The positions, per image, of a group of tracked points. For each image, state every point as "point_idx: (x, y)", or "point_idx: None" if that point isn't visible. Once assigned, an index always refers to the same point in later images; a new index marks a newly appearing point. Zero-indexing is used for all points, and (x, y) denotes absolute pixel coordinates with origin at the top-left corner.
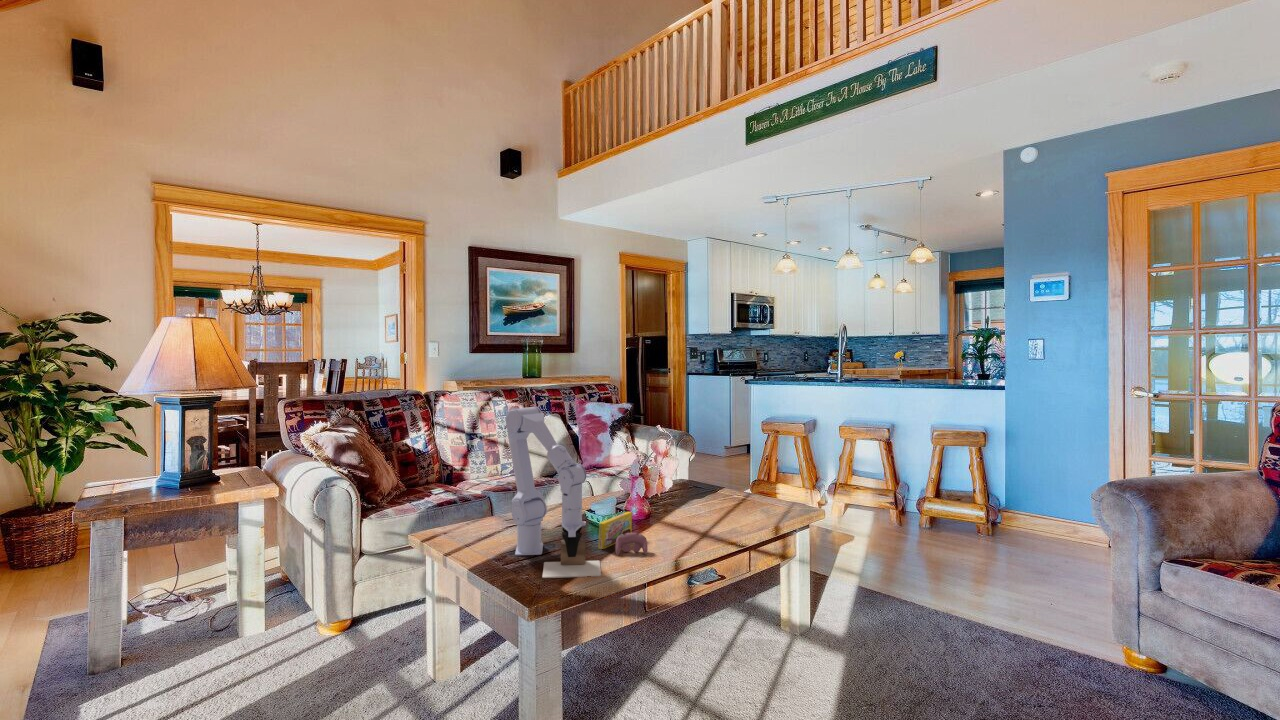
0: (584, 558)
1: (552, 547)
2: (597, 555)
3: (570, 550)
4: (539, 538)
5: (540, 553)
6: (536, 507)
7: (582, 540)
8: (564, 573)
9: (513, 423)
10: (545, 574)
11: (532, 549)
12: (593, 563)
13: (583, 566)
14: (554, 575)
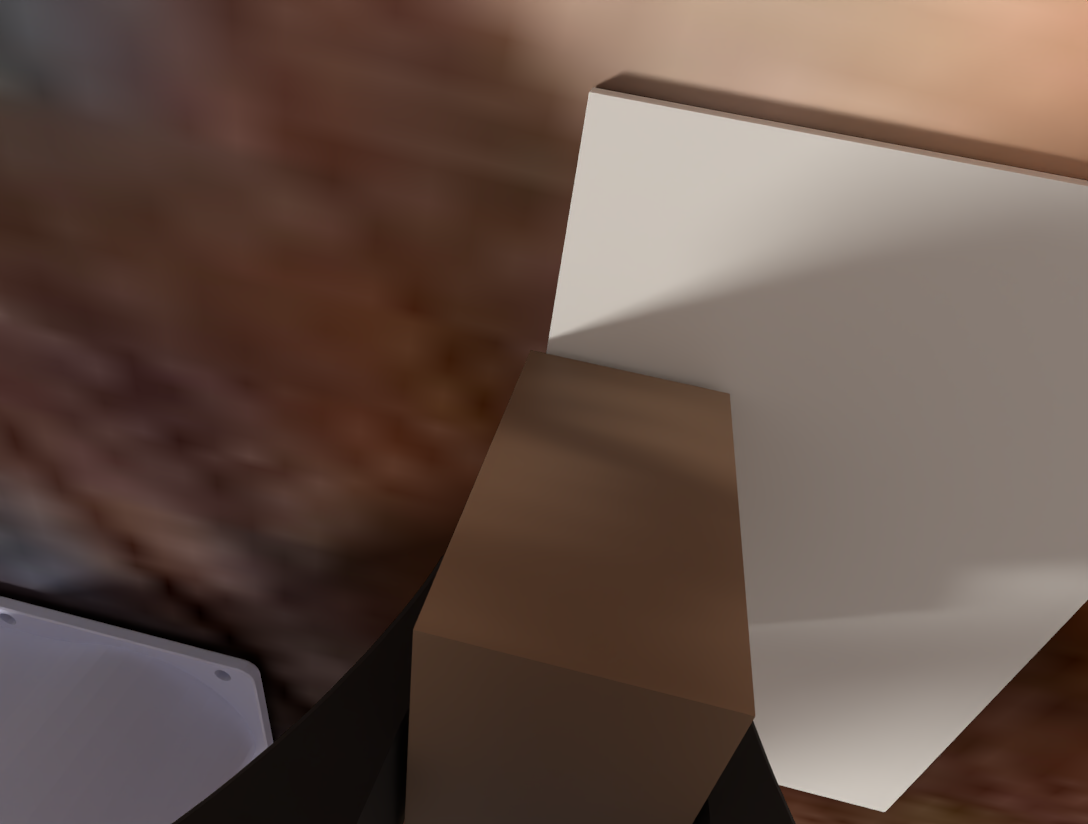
0: (729, 463)
1: (23, 533)
2: (247, 44)
3: None
4: (89, 796)
5: (253, 680)
6: None
7: (489, 697)
8: (920, 666)
9: None
10: (837, 783)
11: (225, 751)
12: (719, 247)
13: (789, 427)
14: (919, 744)
